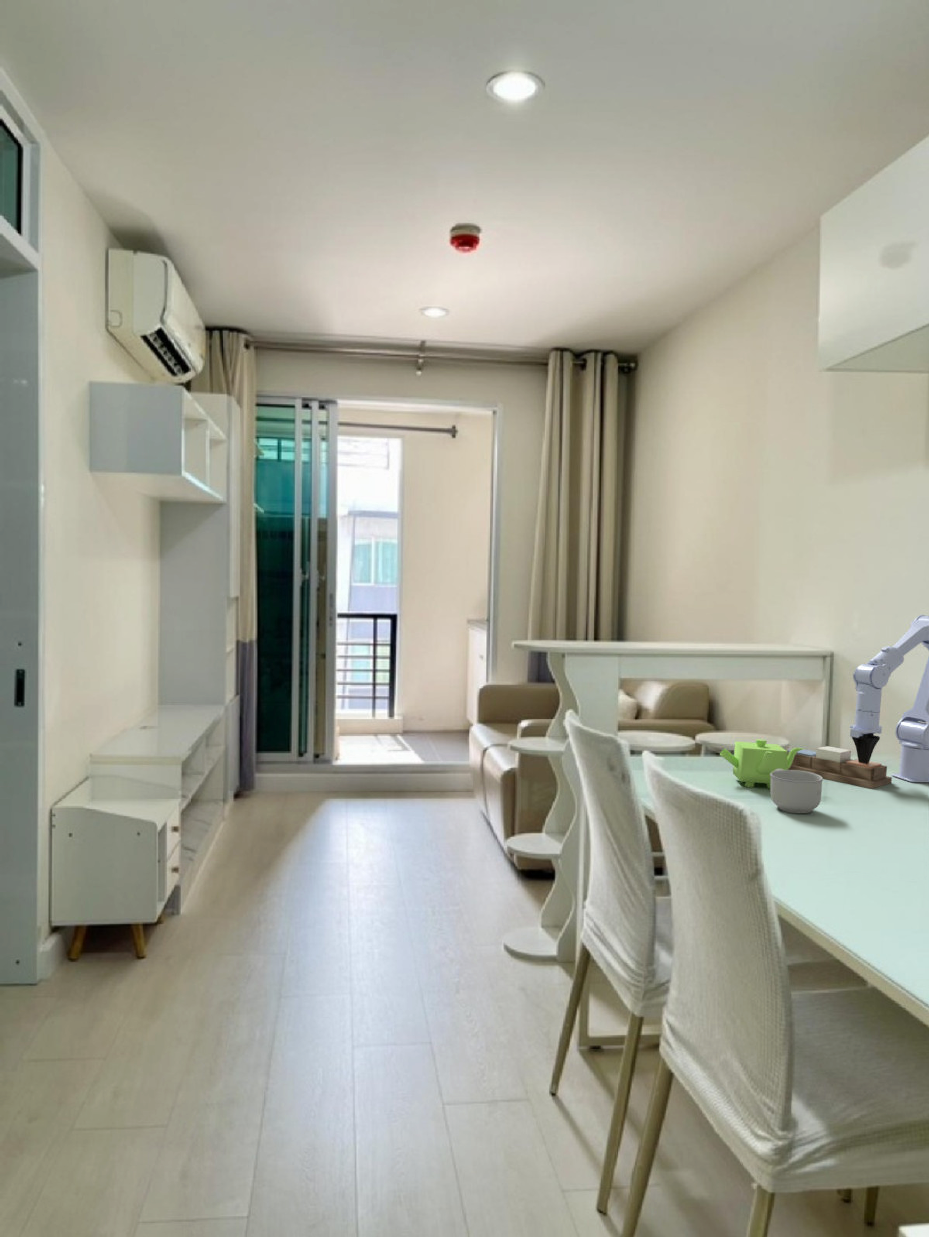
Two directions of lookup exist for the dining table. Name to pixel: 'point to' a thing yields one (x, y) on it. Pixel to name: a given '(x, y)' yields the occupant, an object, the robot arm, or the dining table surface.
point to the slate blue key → (805, 752)
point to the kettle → (758, 761)
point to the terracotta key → (868, 765)
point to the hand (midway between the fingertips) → (863, 762)
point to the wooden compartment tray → (842, 771)
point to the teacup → (796, 790)
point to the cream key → (833, 754)
